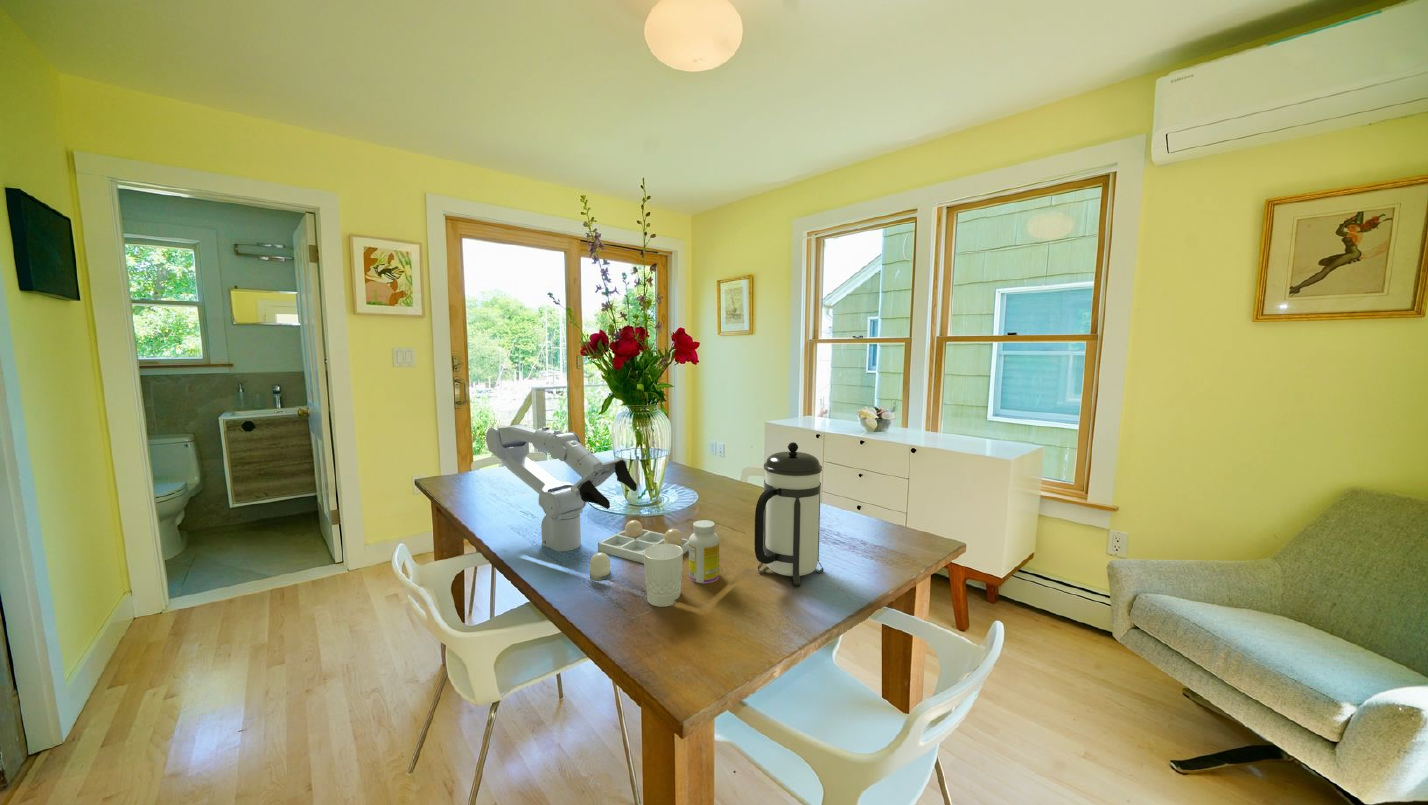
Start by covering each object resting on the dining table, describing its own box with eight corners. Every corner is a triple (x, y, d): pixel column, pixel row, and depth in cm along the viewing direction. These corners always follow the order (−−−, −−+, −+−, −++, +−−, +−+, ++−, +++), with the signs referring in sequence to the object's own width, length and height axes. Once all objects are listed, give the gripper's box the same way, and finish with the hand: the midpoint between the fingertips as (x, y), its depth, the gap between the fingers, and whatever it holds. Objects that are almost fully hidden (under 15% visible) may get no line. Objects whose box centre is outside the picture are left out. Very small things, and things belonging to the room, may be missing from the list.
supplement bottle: (723, 576, 108) (723, 520, 107) (713, 589, 102) (713, 530, 101) (695, 571, 110) (695, 517, 109) (684, 584, 104) (684, 526, 103)
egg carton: (598, 554, 119) (597, 542, 119) (631, 537, 131) (631, 526, 130) (661, 572, 110) (661, 559, 110) (692, 552, 121) (692, 540, 121)
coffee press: (752, 557, 118) (753, 436, 115) (818, 559, 117) (821, 437, 114) (753, 592, 101) (755, 450, 98) (831, 594, 100) (835, 451, 97)
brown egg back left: (621, 541, 125) (621, 521, 124) (632, 536, 129) (632, 516, 128) (635, 545, 123) (634, 524, 122) (645, 539, 127) (645, 519, 126)
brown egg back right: (660, 551, 119) (660, 530, 118) (670, 545, 123) (670, 524, 122) (675, 555, 117) (675, 533, 116) (685, 549, 121) (685, 528, 120)
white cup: (677, 610, 93) (676, 561, 92) (638, 606, 95) (637, 557, 94) (687, 591, 101) (687, 545, 100) (651, 587, 103) (650, 542, 102)
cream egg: (585, 578, 107) (585, 554, 106) (599, 570, 111) (599, 547, 110) (600, 582, 105) (600, 558, 104) (614, 574, 109) (614, 551, 108)
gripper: (557, 467, 108) (594, 501, 102) (609, 438, 118) (646, 468, 111) (560, 488, 113) (596, 523, 106) (610, 459, 122) (646, 489, 115)
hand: (622, 496), depth 109 cm, fingers open, 7 cm apart
